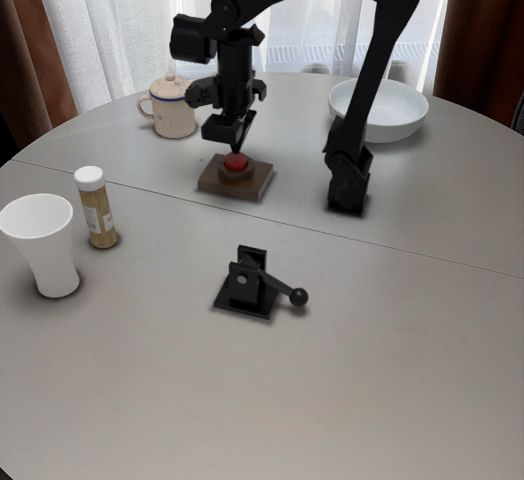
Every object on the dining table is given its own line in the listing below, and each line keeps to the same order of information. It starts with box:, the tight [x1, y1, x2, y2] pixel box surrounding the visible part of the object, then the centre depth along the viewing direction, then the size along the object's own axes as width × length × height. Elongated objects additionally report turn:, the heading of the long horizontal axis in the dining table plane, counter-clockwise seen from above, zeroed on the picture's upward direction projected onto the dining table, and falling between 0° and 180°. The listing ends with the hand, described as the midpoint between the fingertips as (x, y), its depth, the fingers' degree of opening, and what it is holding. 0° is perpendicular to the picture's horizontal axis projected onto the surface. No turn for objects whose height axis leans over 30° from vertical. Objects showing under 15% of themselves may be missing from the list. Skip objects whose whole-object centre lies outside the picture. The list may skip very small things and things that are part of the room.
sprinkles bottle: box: [73, 165, 118, 249], centre depth 95 cm, size 5×5×14 cm
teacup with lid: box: [136, 71, 196, 139], centre depth 120 cm, size 12×9×12 cm
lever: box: [239, 253, 310, 308], centre depth 87 cm, size 12×3×3 cm, turn 73°
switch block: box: [197, 152, 274, 203], centre depth 111 cm, size 12×10×4 cm
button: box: [225, 151, 247, 171], centre depth 109 cm, size 4×4×2 cm
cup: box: [0, 193, 80, 299], centre depth 88 cm, size 10×10×14 cm
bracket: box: [212, 244, 281, 321], centre depth 88 cm, size 9×7×9 cm
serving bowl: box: [327, 77, 430, 144], centre depth 123 cm, size 21×21×7 cm
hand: (236, 153), depth 108 cm, fingers closed
